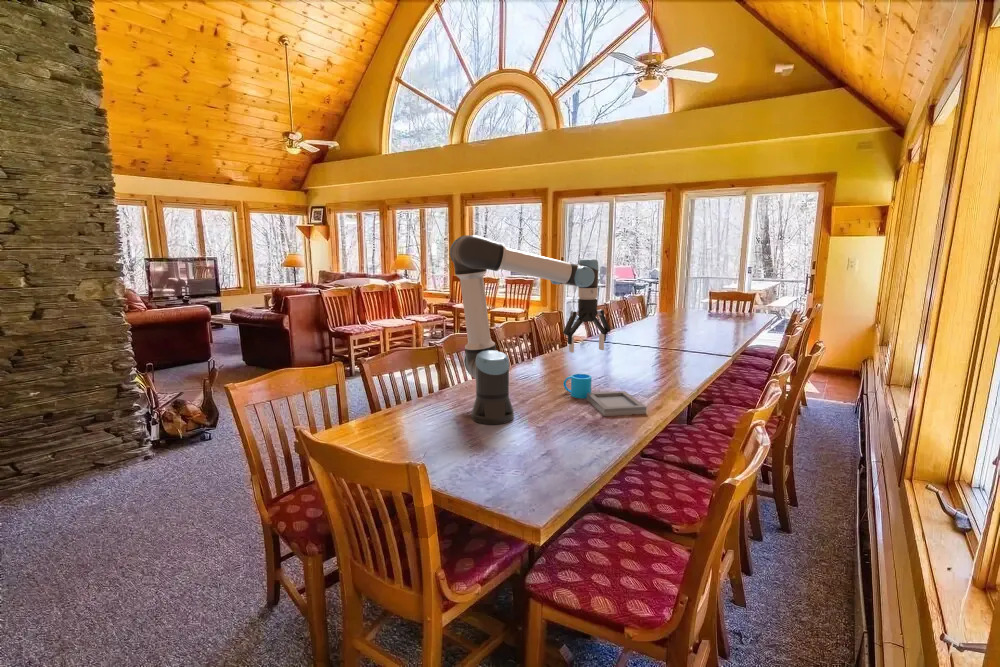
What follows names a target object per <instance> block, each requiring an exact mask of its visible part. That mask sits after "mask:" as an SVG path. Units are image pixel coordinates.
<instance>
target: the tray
mask: <svg viewBox="0 0 1000 667" xmlns="http://www.w3.org/2000/svg"><path fill="white" fill-rule="evenodd" d="M586 400H587V402H589V403H590V405H592V406H593V407H594V408H595V409H596V410H597V411H598V412H599V413H600V414H601V415H602V416H603V417H614V416H632V414H635V415H647V406H646V405H644V404H643V403H642V402H640V401H639V400H638V399H637V398H635V397H633V396H632V395H631V394H630V393H628V392H627V391H625V390H621V391H604V392H603V391H601V392H600V391H599V392H591V393H587V398H586Z"/></svg>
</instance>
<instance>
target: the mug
mask: <svg viewBox="0 0 1000 667" xmlns="http://www.w3.org/2000/svg"><path fill="white" fill-rule="evenodd" d="M570 379H571V380H570ZM568 380H570V389H569V388H568V386H567V381H568ZM563 388H564V389H565V391H567V392H568V393H570V396H571V397H572V398H575V399H587V393H592V375H590V374H587V373H575V374H572V375H570V376H568V377H566V378H565V379H564V380H563Z"/></svg>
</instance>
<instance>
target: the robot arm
mask: <svg viewBox="0 0 1000 667" xmlns="http://www.w3.org/2000/svg"><path fill="white" fill-rule="evenodd" d="M449 256H450V259H451V261H452V263H453V268H454V275H455V276H456V277H457V278H458V279H459V282H460V289H461V290H460V291H461V298H462V306H463V313H464V320H465V329H466V330H465V331H466V336H467V343H466V344H465V345H464V352H465V354H464V360H463V364H464V367H465V369H466V371H467V373H468V374H469V375H470V376H472V378H473V379H475V385H476V386H475V393H476V394H475V401H474V403H473V406H472V409H471V420H473V421H474V422H476V423H478V424H483V425H501V424H507V423H509V422H512V421H513V420H514V418H515V414H514V413H515V412H514V409H513V405H512V403H511V399H510V396H509V395H510V360H509V357H508V355H507V354H506V353H505V352H502V351H498V350H497V348H496V347H497V346H496V342H494V341H493V340H492V338H491V332H490V321H489V314H488V308H487V307H488V306H487V298H486V289H485V281H484V276H485V274H486V273H487V270H489V271H493V272H498V271H499V270H503V271H508V272H512V273H517V274H522V275H525V276H530V277H535V278H539V279H543V280H548V281H550V283H551V284H552V285H559V286H560V285H567V286H572V287H577V288H578V290H577V291H578V293H577V296H578V300H577V309H578V311H574V310H571V311H570V316H569V318H568V320H567V322H566V325H565V327H564V329H563V331H562V334H563V335H565V336H567V338H566V341H567V345H568V352H569V353H572V354H573V353H575V336H573V335H574V334H575V333H576V332H577V330H578V329H579V327H580V326H581V325H582V324H583V323H588V322H590V323H591V322H593V324H594V325H595V326H596V328H598V330H599V333H598V334H599V335H598V336H599V337H598V340H599V341H598V350H601V351H605V342H606V341H607V335H608V333H610V332H611V327H610V325H609V323H608V319H607V318H606V316H605V310H604V309H601V308H600V309H598V297H599V296H598V295H599V294H598V290H599V289H598V288H599V286H598V285H599V271H600V270H599V261H598V259H595V258H581V259H579V261H578V263H577V264H576V263H571V262H568V261H564V260H559V259H555V258H552V257H546V256H543V255H538V254H534V253H530V252H526V251H523V250H522V251H521V250H518V249H513V248H510V247H507V246H505V244H504V243H502V242H497V241H494V240H492V239H489V238H486V237H483V236H482V235H481V236H480V235H477V234H472V235H462V236H459V237H458V238H456V239H455V240H454V241H453V243H452V244H451V246H450V250H449ZM597 309H598V310H597ZM577 316H578V317H577ZM597 316H598V317H599V319H600V321H599V319H598V317H597ZM576 318H577V319H576ZM600 322H601V323H600Z"/></svg>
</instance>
